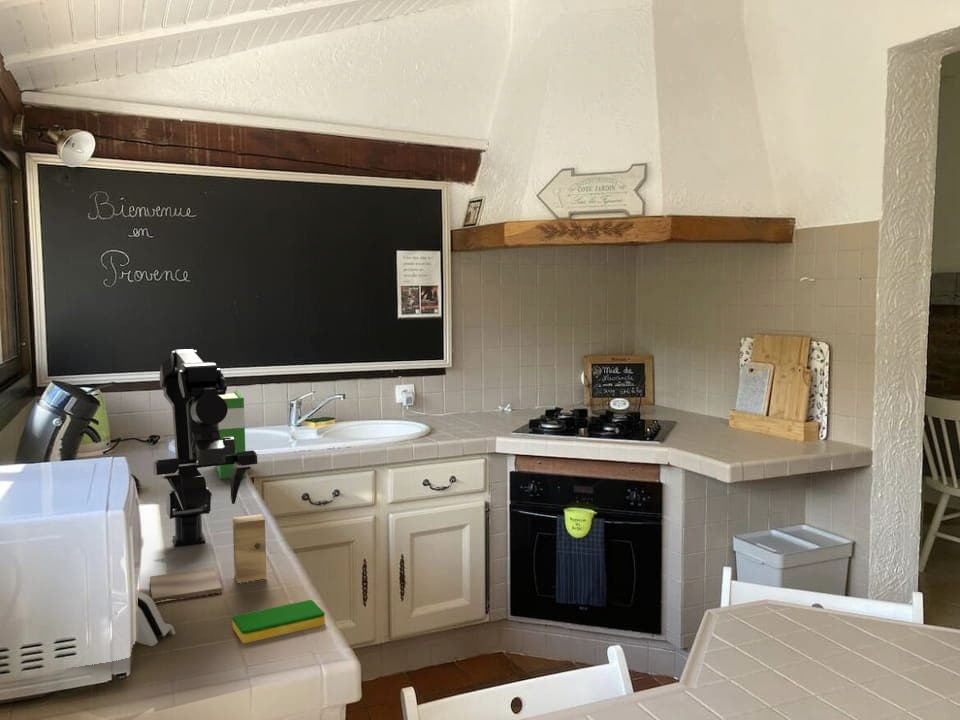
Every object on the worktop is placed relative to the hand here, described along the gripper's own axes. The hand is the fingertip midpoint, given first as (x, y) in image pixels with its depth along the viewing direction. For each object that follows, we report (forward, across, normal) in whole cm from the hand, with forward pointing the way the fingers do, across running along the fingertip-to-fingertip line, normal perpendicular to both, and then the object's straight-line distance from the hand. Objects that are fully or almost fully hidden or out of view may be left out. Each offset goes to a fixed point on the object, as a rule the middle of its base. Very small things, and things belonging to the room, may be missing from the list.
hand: (209, 507), depth 153 cm
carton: (-3, +23, +92) cm, 95 cm away
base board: (+14, -5, 0) cm, 15 cm away
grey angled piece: (+18, -18, -15) cm, 29 cm away
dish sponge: (+20, +6, -25) cm, 33 cm away
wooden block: (+15, +7, -1) cm, 16 cm away
